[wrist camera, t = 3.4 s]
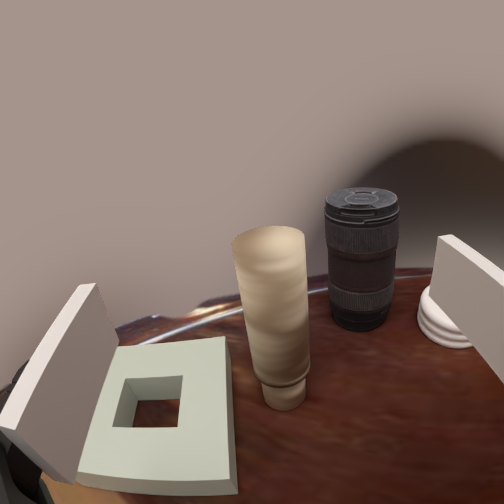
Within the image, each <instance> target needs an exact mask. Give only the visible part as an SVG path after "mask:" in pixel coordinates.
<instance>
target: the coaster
mask: <svg viewBox="0 0 504 504" xmlns="http://www.w3.org/2000/svg"><path fill="white" fill-rule="evenodd" d="M429 289H430V286H428V287H427V288H426V289H425V290H424V291H423V293H422V295H421V298H420V304H419V310H418V314H417V319H418V324H419V327H420V329H421V330H422V332H423V333H424V334H425V335H426V336H427V337H428V338H429V339H430V340H432V341H434V342H435V343H437V344H439V345H442V346H445V347H448V348H455V349H464V348H469V347H473V345H472V344H471V342H470V341H469V340H468V339H467V338H466V337H465V335H464V334H463V333H462V332H461V331H460V330H459V329H458V327H457V326H456V325H455V324H454V323H453V322H452V321H451V320H450V318H449V317H448V316H447V315H446V314H445V313H444V312H443V311H442V310H441V308H440V307H439V306H438V305H437V304H436V303H435V302H434V301H433V300H432V299H431V298H430V297H429V296H428V294H429Z"/></svg>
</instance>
